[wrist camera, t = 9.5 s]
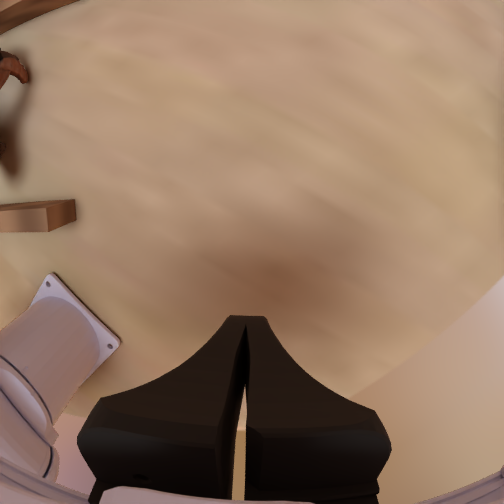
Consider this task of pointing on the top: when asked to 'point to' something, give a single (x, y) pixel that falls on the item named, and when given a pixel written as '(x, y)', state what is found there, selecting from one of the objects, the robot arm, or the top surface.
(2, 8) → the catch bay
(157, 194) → the top surface
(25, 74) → the brown ring with stem
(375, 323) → the top surface
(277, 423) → the robot arm
